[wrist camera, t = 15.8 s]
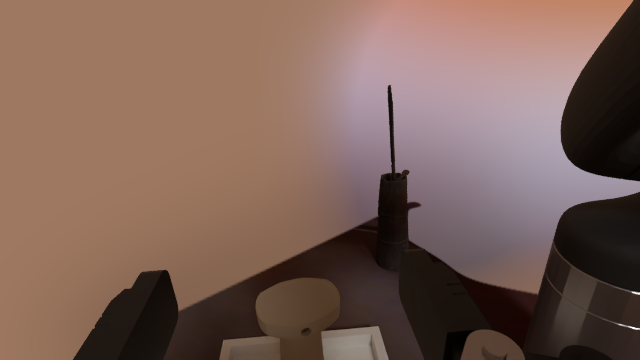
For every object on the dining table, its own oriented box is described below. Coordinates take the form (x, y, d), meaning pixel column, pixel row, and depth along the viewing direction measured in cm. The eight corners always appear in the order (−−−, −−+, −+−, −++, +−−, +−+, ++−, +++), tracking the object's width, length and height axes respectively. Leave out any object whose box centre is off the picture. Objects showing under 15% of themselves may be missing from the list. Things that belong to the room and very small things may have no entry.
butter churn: (406, 237, 62) (419, 77, 51) (437, 269, 54) (461, 85, 43) (359, 247, 60) (362, 81, 49) (384, 282, 51) (395, 90, 40)
